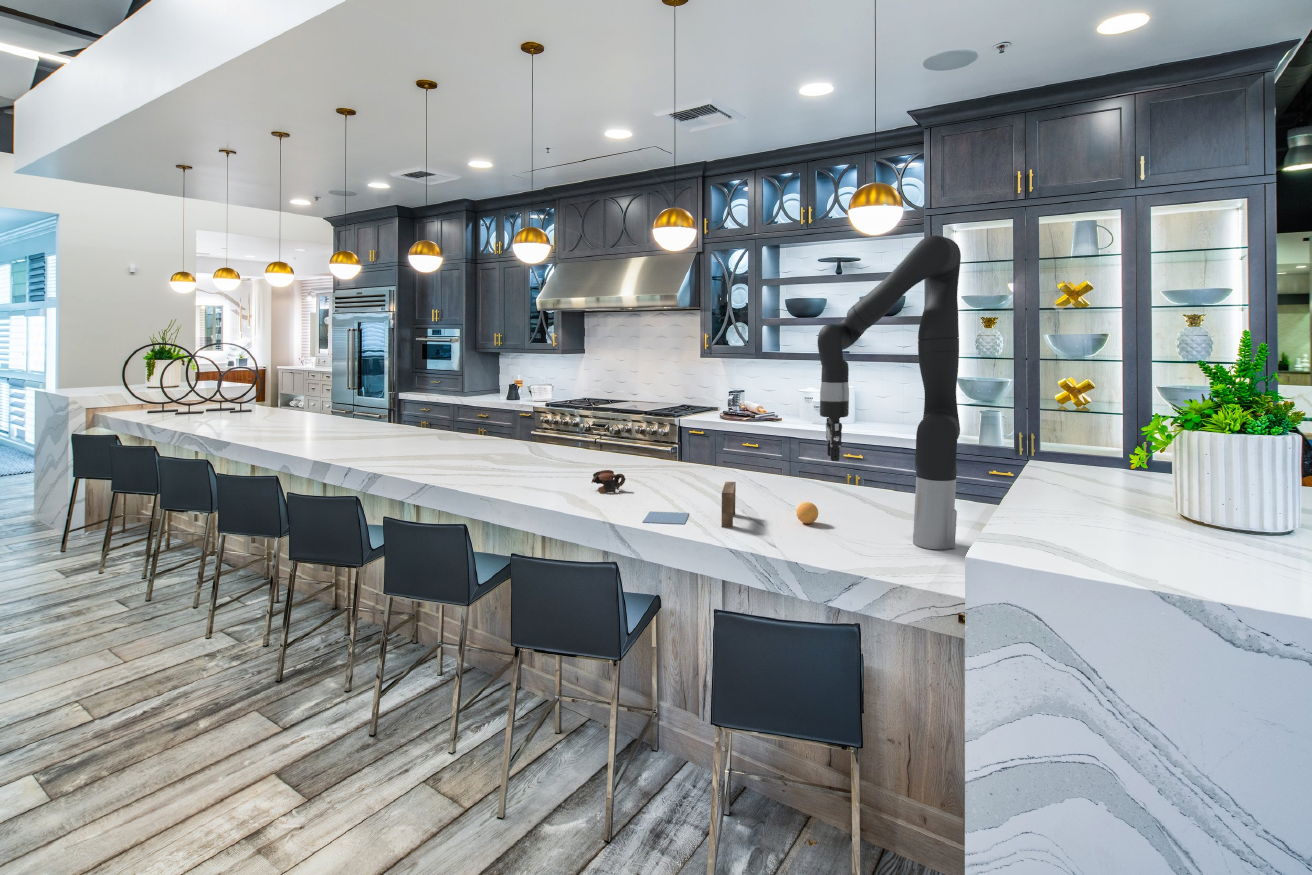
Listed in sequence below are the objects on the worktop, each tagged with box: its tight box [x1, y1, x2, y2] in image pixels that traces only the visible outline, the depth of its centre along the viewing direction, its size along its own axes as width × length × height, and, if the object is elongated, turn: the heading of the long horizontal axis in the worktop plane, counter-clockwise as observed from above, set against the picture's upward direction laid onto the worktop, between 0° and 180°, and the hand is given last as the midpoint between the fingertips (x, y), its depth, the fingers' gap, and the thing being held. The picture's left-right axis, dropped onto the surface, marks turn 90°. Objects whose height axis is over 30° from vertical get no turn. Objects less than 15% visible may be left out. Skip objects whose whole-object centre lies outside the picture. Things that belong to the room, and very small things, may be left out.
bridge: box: [721, 481, 737, 528], centre depth 195 cm, size 3×15×10 cm, turn 171°
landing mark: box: [641, 510, 690, 525], centre depth 199 cm, size 12×12×1 cm
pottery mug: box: [591, 469, 626, 494], centre depth 236 cm, size 12×10×8 cm
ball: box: [796, 501, 819, 525], centre depth 192 cm, size 6×6×6 cm
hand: (833, 458), depth 186 cm, fingers open, 8 cm apart
